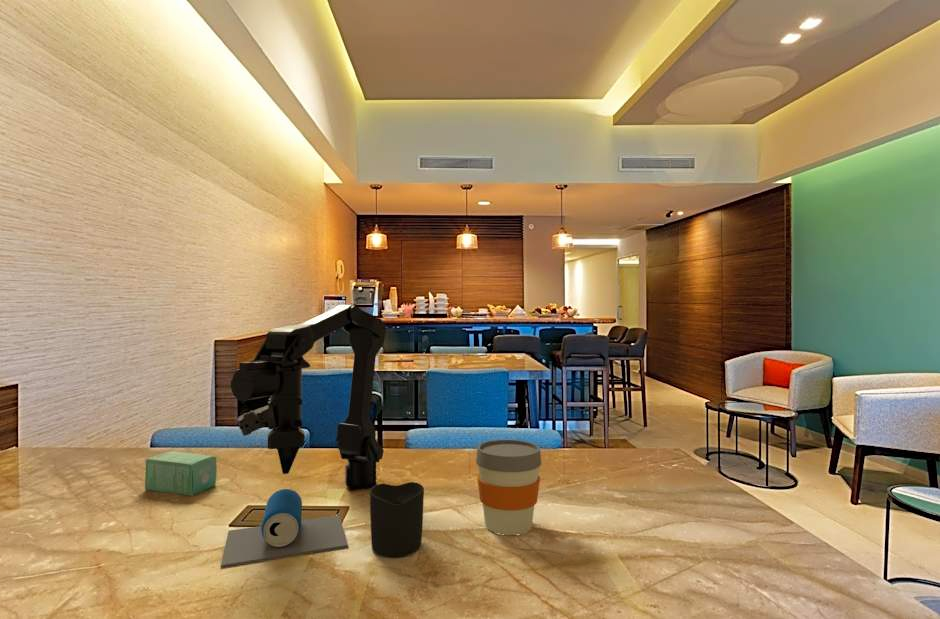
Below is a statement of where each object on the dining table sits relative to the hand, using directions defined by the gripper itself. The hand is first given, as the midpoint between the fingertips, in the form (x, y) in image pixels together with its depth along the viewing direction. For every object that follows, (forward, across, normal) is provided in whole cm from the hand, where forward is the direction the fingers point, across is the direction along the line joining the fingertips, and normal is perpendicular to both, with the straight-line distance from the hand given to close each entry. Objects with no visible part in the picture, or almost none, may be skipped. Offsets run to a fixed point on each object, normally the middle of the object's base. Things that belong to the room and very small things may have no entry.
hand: (285, 473), depth 98 cm
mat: (+10, +8, 0) cm, 12 cm away
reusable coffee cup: (+10, +16, +40) cm, 44 cm away
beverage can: (+6, 0, 0) cm, 6 cm away
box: (+10, -28, -22) cm, 38 cm away
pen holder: (+10, +17, +18) cm, 27 cm away
